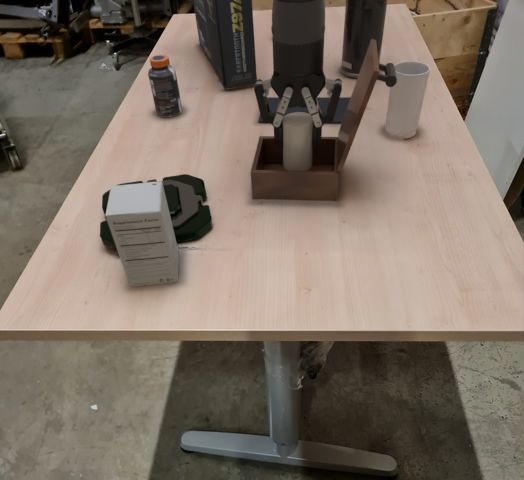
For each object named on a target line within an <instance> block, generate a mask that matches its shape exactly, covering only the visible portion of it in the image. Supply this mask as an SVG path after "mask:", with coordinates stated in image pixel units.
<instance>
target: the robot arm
mask: <svg viewBox="0 0 524 480" xmlns="http://www.w3.org/2000/svg"><path fill="white" fill-rule="evenodd" d="M325 3H326V1H325V0H272V9H271V27H270V28H271V29H270V30H271V36H272V37H271V38H272V65H273V70H272V71H273V72H272V75H271V78H269V79H267V80H266V79H265V80H262V79H261V78H259V79H258V78H257V81H256V84H255V85H254V88H253V91H254V94H255V98H256V99H255V100H256V103H257V107H258V111H259V115H260V114H261V118H262V121H263V123H262V124H270V125H272V126H273V136H274V142H275V145H278V148H283V139H282V119H283V116H284V114H285V111H286V109H287V106H288V108H293V107H297V106H298V107H302V108H307V107H308V110H309V113H310V115H311V117H312V119H313V122H314V126H313V148H317V145H320V143H321V137H323V136H322V135H323V134H322V132H323V126H324V125H326V124H333V123H332V122H333V119H334V116H335V112H336V109H337V105H338V101H339V98H341V94H342V90H343V80H342V79H341V78H336V79H335V80H333V79H331V78H330V79H329V78H326V75H325V73H324V54H325V32H326V4H325ZM387 6H388V0H345V7H344V8H345V9H344V10H345V11H344V24H343V38H342V51H341V64H340V73H341V74H342V75H343V76H345V77H348V78H352V79H357V78H358V75H359V73H360V70H361V67H362V64H363V61H364V58H365V55H366V53H367V50H368V47H369V44H370V41H371V39H374V40H376V44H377V53H378V63H380V62H381V55H382V48H383V46H382V45H383V38H384V31H385V23H386V17H387V16H386V15H387ZM380 64H381V63H380ZM324 88H325V89H326V91H327V93H326V94H327V97H329V98H330V100H329V104H328V108H327V111H326V112H324V113H321V111H320V108H319V104H318V100H317V98H318V97H319V95H320V94H321V92H322V91H323V90H324ZM270 89H272V90H273V92H274V93H275V95H276V97H277V98H279V99H280V101H279V105H278V108H277V110H276V113H273V112H271V111H270V107H269V103H268V99H267V98H268V96H269V95H270Z"/></svg>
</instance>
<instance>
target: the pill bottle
mask: <svg viewBox="0 0 524 480" xmlns="http://www.w3.org/2000/svg"><path fill="white" fill-rule="evenodd" d="M149 63H150V68H149V69H148V72H147V75H148V80H149V85H150V90H151V94H152V98H153V103H154V108H155V112H156V115H158V117H162V118H171V117H172V118H173V117H176V116H178V115H180V114H181V113H182V112H183V107H182V106H183V105H182V99H181V94H180V89H179V83H178V82H179V81H178V77H177V71H176V69H175V67H173V66H172V65H171V62H170V57H169V55H167V54H155V55H153V56H150V58H149Z"/></svg>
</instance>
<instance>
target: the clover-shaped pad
mask: <svg viewBox="0 0 524 480" xmlns="http://www.w3.org/2000/svg"><path fill="white" fill-rule="evenodd" d="M148 182H162V183H163V188H164V192H165V196H166V200H167V204H168V209H169V213H170V217H171V222H172V226H173V230H174V234H175V239H176V243H179V242H186V241H192V240H197V239H199V238H201V237H202V236H204V235H205V234H206V233H207V232H208V231H210V229H212V228H213V225H214V223H213V218H212V213H211V209H210V205H208V204H204V201H205V200H206V199H208V194H207V189H206V185H205V181H204V180H203V178H200V177H197V176H194V175H191V174H187V173H186V174H178V175H177V174H176V175H171V176H165V177H163V178H162V180H159V181H158V180H157V179H156V178H153V179H147V181H146V183H148ZM138 183H144V181H143V180H136V181H131V182H124V183H118V184H116V185H115V186H118V185H128V184H138ZM109 194H110V189H109V190H107V191H105V192H104V193H103V194H102V197H101V208H102V211H103V214H104V215H106V209H107V204H108V199H109ZM99 237H100V240H101V243H102V244H103V246H106V247H108V248H111V249H113V250H115V251H117V248H116V245H115V242H114V239H113V236H112V233H111V230H110V228H109V225H108V222H107V219H106V220H102V221H101V222H100V224H99Z"/></svg>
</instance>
